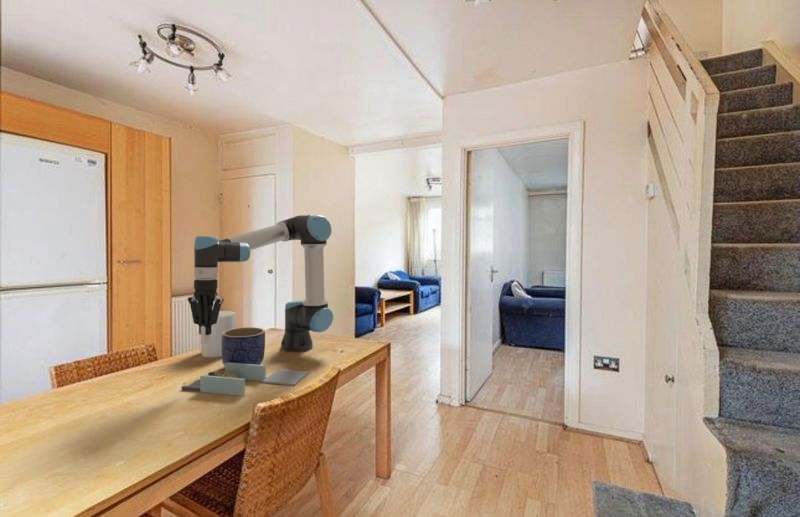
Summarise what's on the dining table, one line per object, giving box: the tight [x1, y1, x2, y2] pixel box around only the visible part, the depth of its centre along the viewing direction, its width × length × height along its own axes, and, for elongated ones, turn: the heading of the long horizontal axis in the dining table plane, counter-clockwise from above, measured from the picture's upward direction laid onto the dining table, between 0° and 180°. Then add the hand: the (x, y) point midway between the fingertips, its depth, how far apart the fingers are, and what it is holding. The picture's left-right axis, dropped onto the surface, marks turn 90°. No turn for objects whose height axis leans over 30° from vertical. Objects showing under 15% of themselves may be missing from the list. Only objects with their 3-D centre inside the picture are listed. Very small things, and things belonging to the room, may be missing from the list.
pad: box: [261, 368, 310, 387], centre depth 143 cm, size 13×13×1 cm
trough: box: [181, 362, 267, 397], centre depth 134 cm, size 15×23×6 cm, turn 81°
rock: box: [214, 369, 237, 378], centre depth 134 cm, size 8×11×4 cm
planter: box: [221, 326, 266, 367], centre depth 153 cm, size 16×17×15 cm
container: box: [200, 310, 237, 358], centre depth 172 cm, size 14×14×18 cm
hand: (204, 343), depth 135 cm, fingers closed
